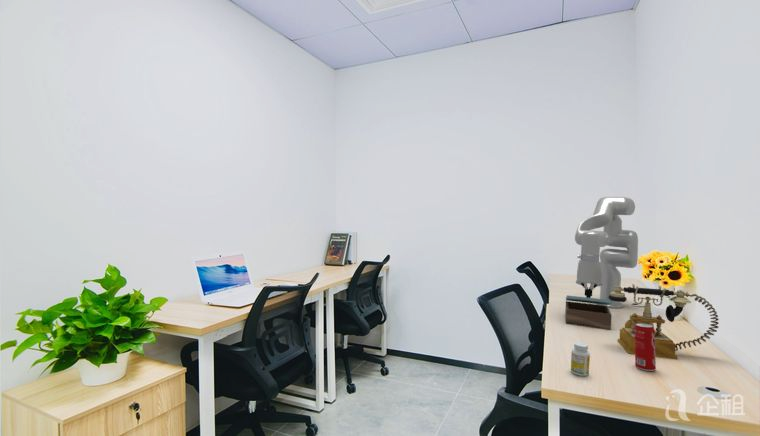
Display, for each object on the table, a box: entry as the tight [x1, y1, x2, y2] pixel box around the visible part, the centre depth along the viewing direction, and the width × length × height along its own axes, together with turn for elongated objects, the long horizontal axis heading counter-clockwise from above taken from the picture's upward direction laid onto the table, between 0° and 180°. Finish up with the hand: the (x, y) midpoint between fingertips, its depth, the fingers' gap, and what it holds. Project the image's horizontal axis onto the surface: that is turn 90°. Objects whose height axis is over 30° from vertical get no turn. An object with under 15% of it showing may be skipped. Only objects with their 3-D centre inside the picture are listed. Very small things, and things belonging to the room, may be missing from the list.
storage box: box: [564, 300, 613, 331], centre depth 179 cm, size 16×18×7 cm
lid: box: [565, 295, 612, 305], centre depth 179 cm, size 16×18×1 cm
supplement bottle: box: [570, 341, 591, 377], centre depth 125 cm, size 5×5×10 cm
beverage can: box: [634, 323, 657, 372], centre depth 129 cm, size 6×6×15 cm
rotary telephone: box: [609, 283, 720, 360], centre depth 146 cm, size 35×18×25 cm, turn 73°
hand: (588, 297), depth 175 cm, fingers closed
